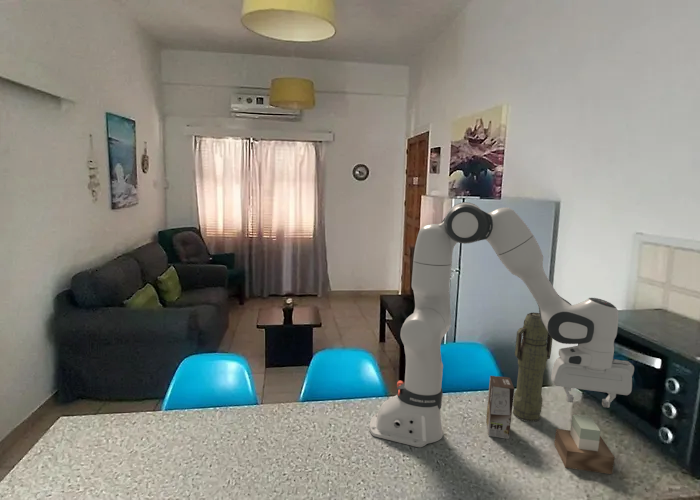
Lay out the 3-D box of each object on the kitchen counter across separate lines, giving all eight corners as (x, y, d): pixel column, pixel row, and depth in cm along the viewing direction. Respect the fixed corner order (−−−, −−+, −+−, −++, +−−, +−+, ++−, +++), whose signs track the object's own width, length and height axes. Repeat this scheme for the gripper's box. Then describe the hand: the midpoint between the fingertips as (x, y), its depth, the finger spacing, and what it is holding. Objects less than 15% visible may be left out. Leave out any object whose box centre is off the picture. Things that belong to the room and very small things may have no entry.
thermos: (503, 410, 160) (513, 311, 155) (533, 407, 163) (543, 310, 158) (518, 423, 152) (529, 318, 147) (549, 420, 155) (561, 318, 150)
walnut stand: (565, 467, 128) (567, 450, 128) (554, 444, 140) (556, 428, 139) (612, 474, 126) (614, 457, 126) (597, 449, 138) (599, 434, 137)
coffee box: (509, 439, 142) (515, 389, 139) (487, 436, 143) (492, 386, 141) (506, 424, 151) (510, 377, 148) (485, 421, 152) (489, 374, 150)
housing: (570, 433, 137) (572, 414, 136) (588, 436, 136) (590, 416, 135) (578, 448, 129) (581, 428, 128) (597, 451, 128) (600, 430, 127)
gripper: (630, 357, 130) (622, 404, 132) (553, 348, 134) (546, 394, 136) (640, 366, 124) (632, 414, 126) (558, 356, 128) (552, 403, 130)
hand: (587, 404), depth 131 cm, fingers open, 8 cm apart
